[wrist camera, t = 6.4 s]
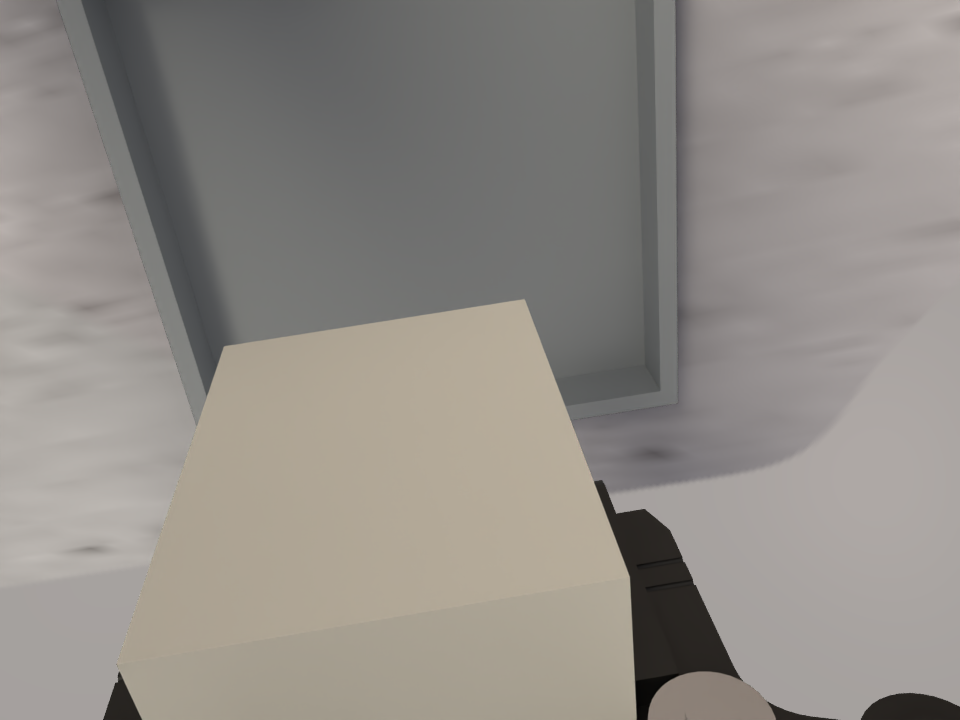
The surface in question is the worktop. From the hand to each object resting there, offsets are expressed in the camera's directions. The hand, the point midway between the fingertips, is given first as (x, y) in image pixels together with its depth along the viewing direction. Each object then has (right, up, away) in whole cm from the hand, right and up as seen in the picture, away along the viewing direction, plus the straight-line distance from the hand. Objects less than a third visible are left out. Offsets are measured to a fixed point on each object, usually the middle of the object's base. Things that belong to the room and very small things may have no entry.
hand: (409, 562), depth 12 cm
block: (0, +1, +2) cm, 2 cm away
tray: (-1, +8, +15) cm, 17 cm away
